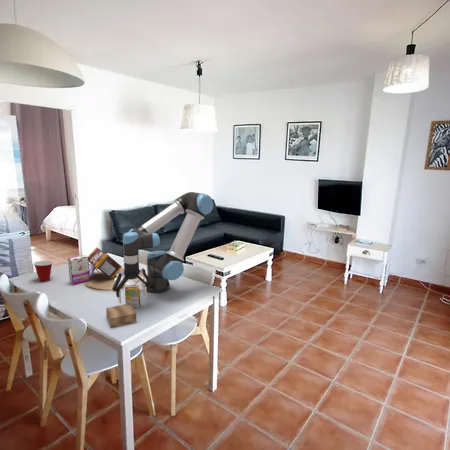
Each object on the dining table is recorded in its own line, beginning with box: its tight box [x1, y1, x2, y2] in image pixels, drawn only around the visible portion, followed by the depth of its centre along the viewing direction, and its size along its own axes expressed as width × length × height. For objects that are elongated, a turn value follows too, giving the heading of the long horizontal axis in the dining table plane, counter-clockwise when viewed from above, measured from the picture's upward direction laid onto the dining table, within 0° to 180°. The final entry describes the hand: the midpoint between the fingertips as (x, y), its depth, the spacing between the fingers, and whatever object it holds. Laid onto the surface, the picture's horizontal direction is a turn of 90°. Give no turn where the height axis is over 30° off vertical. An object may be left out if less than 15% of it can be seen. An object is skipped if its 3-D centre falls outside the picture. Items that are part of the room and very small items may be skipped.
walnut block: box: [105, 303, 138, 328], centre depth 156 cm, size 12×12×5 cm
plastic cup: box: [33, 260, 54, 283], centre depth 202 cm, size 11×11×12 cm
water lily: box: [89, 263, 100, 278], centre depth 215 cm, size 15×15×9 cm
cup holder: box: [113, 273, 145, 292], centre depth 193 cm, size 20×11×7 cm, turn 55°
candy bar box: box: [67, 254, 91, 286], centre depth 200 cm, size 11×5×16 cm, turn 136°
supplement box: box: [87, 247, 123, 279], centre depth 208 cm, size 10×15×16 cm
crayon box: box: [124, 286, 141, 308], centre depth 169 cm, size 7×3×12 cm, turn 92°
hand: (132, 299), depth 170 cm, fingers open, 13 cm apart
